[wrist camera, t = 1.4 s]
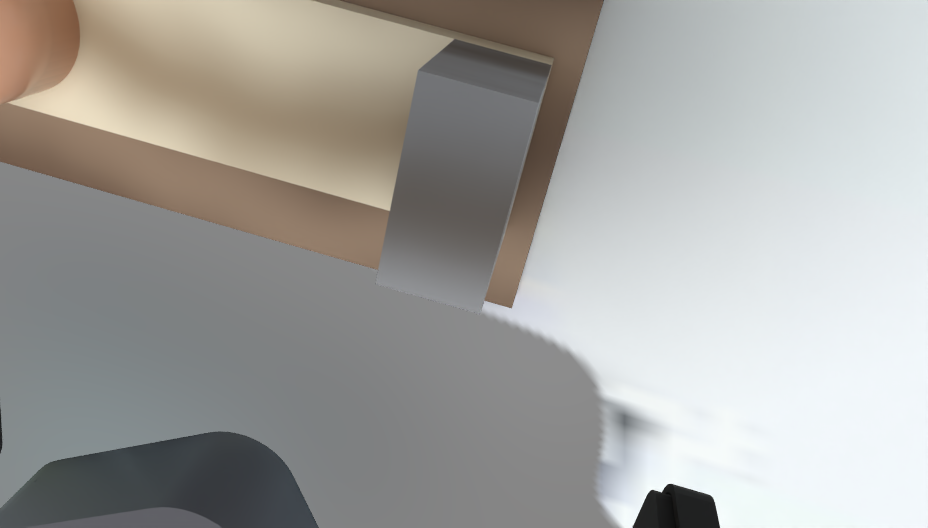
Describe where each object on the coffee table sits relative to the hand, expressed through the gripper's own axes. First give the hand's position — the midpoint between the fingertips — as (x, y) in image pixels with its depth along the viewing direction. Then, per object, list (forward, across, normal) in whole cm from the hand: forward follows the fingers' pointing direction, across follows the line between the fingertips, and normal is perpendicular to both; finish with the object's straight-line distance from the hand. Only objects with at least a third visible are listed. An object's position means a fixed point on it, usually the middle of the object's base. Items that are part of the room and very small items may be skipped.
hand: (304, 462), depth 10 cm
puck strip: (+16, +9, 0) cm, 19 cm away
